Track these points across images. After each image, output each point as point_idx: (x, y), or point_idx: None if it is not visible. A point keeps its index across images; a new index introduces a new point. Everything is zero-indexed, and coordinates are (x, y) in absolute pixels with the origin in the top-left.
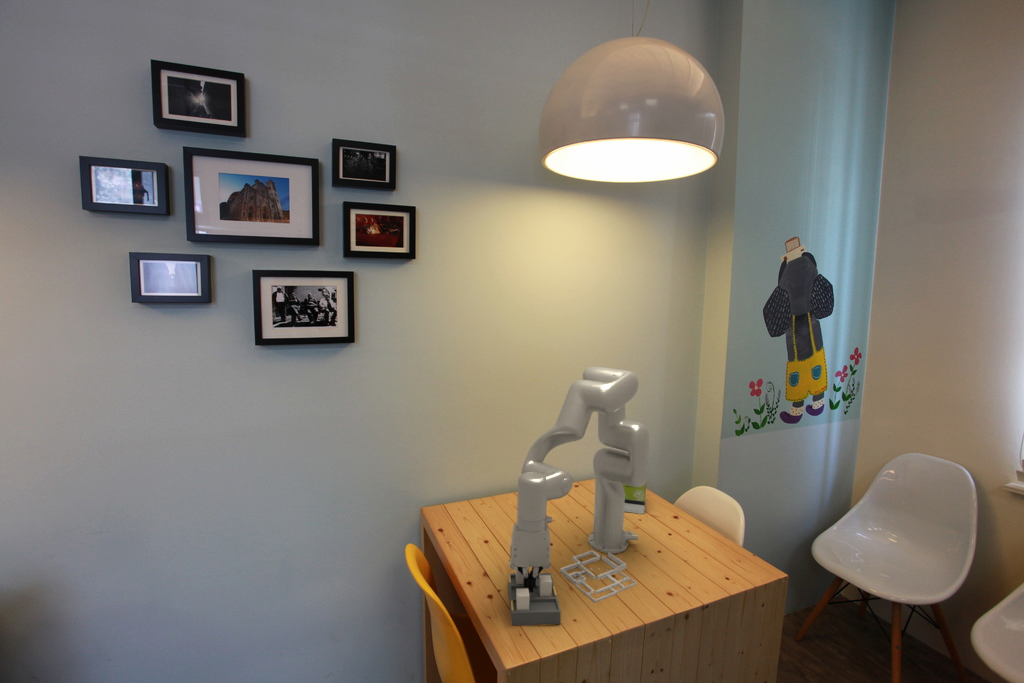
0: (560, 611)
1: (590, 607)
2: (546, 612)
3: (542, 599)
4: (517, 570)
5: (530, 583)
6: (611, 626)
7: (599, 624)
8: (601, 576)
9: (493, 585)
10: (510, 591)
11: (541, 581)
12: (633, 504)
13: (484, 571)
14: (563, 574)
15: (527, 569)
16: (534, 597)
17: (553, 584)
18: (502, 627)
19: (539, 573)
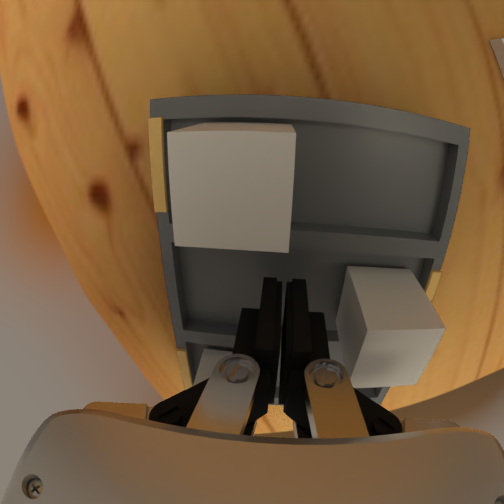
0: (380, 403)
1: (501, 297)
2: None
3: (338, 351)
4: (184, 242)
5: (280, 372)
6: (491, 363)
7: (473, 360)
8: None
9: (107, 110)
10: (169, 287)
11: (356, 382)
12: None
13: (75, 9)
14: (501, 67)
15: (285, 247)
16: None
17: (444, 250)
18: (170, 358)
19: (398, 115)
